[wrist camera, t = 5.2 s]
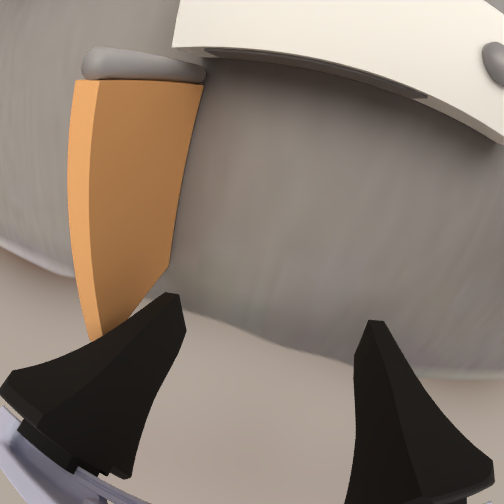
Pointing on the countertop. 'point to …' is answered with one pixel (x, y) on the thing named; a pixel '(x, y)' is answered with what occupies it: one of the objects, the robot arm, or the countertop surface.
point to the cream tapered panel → (368, 46)
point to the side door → (126, 175)
